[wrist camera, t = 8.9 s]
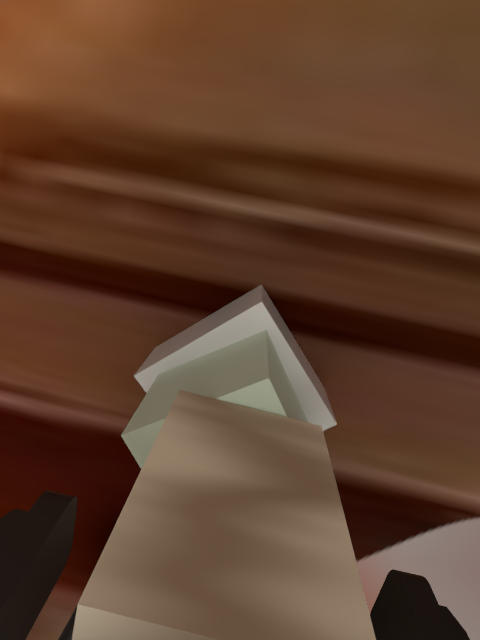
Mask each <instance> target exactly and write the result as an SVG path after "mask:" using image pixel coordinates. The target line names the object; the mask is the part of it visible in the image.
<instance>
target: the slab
mask: <svg viewBox="0 0 480 640" xmlns="http://www.w3.org/2000/svg"><path fill="white" fill-rule="evenodd" d="M265 330H267V332H268V334H269V336H270V338H271V341H272V343H273V345H274V347H275V349H276V352H277V354H278V356H279V358H280V360H281V363H282V365H283V367H284V369H285V371H286V374H287V376H288V378H289V380H290V382H291V385H292V387H293V389H294V391H295V393H296V396H297V398H298V400H299V402H300V404H301V407H302V409H303V411H304V413H305V415H306V418H307V420H308V422H309V423H312V424H316V425H320V426H322V429H323V431H324V430H326V429H328V428H330V427H333V426H335V425H337V422H336V419H335V417H334V414H333V411H332V408H331V405H330V402H329V400H328V397H327V394H326V391H325V388H324V387H323V385H322V383H321V382H320V380H319V378H318V377H317V375H316V373H315V372H314V370H313V368H312V367H311V365H310V363H309V362H308V360H307V359H306V357H305V355H304V354H303V352H302V350H301V349H300V347H299V345H298V344H297V342H296V340H295V339H294V337H293V335H292V334H291V332H290V331H289V329H288V327H287V326H286V324H285V322H284V321H283V319H282V317H281V316H280V314H279V312H278V311H277V309H276V308H275V306H274V304H273V303H272V301H271V299H270V298H269V296H268V294H267V293H266V291H265V289H264V288H263V286H262V284H261V285H260V286H258V287H256V288H255V289H253V290H251V291H250V292H248V293H246V294H245V295H243V296H241V297H240V298H238V299H236V300H234V301H233V302H231V303H229V304H228V305H226V306H224V307H223V308H221V309H219V310H218V311H216V312H214V313H212V314H211V315H209V316H207V317H206V318H204V319H202V320H201V321H199V322H197V323H196V324H194V325H192V326H191V327H189V328H187V329H185V330H184V331H182V332H180V333H179V334H177V335H175V336H174V337H172V338H170V339H169V340H167V341H165V342H163V343H162V344H160V345H158V346H157V347H155V348H154V350H153V351H152V352H151V354H150V355H149V356H148V358H147V359H146V360H145V362H144V363H143V364H142V366H141V367H140V368H139V370H138V371H137V372H136V374H135V375H134V377H135V378H136V380H137V381H138V382H139V384H140V385H141V386H142V388H143V389H144V390H145V392H146V393H147V392H148V390H149V389H150V387H151V386H152V384H153V382H154V381H155V379H156V377H157V376H158V374H160V373H163V372H165V371H167V370H170V369H172V368H175V367H177V366H180V365H182V364H184V363H187V362H189V361H192V360H194V359H197V358H199V357H201V356H204V355H206V354H209V353H211V352H214V351H216V350H218V349H221V348H223V347H226V346H228V345H231V344H233V343H235V342H238V341H240V340H243V339H245V338H248V337H250V336H252V335H255V334H257V333H260V332H262V331H265Z"/></svg>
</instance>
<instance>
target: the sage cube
mask: <svg viewBox="0 0 480 640" xmlns="http://www.w3.org/2000/svg"><path fill="white" fill-rule="evenodd" d="M179 390H183V391H187V392H191V393H195V394H199V395H203V396H206V397H210V398H214V399H218V400H222V401H226V402H230V403H234V404H238V405H242V406H246V407H249V408H253V409H257V410H261V411H265V412H269V413H273V414H277V415H281V416H285V417H289V418H293V419H296V420H300V421H304V422H308V420H307V418H306V415H305V413H304V411H303V409H302V407H301V404H300V402H299V400H298V398H297V396H296V393H295V391H294V389H293V387H292V385H291V382H290V380H289V378H288V376H287V374H286V371H285V369H284V367H283V365H282V363H281V360H280V358H279V356H278V354H277V352H276V349H275V347H274V345H273V343H272V341H271V338H270V336H269V334H268V332H267V330H265V331H262V332H260V333H257V334H255V335H252V336H250V337H248V338H245V339H243V340H240V341H238V342H235V343H233V344H231V345H228V346H226V347H223V348H221V349H218V350H216V351H214V352H211V353H209V354H206V355H204V356H201V357H199V358H197V359H194V360H192V361H189V362H187V363H184V364H182V365H180V366H177V367H175V368H172V369H170V370H167V371H165V372H163V373H160V374H158V376H157V377H156V379H155V381H154V382H153V384H152V386H151V387H150V389H149V390H148V392H147V394H146V395H145V397H144V399H143V400H142V402H141V404H140V405H139V407H138V408H137V410H136V412H135V413H134V415H133V417H132V418H131V420H130V422H129V423H128V425H127V426H126V428H125V430H124V431H123V433H122V435H121V436H122V438H123V440H124V441H125V443H126V445H127V446H128V448H129V450H130V451H131V453H132V455H133V456H134V458H135V460H136V461H137V463H138V464H139V466H140V468H141V469H142V467H143V465H144V463H145V461H146V459H147V457H148V455H149V452H150V450H151V448H152V446H153V444H154V442H155V440H156V438H157V436H158V433H159V431H160V429H161V427H162V425H163V423H164V421H165V419H166V417H167V414H168V412H169V410H170V408H171V406H172V404H173V402H174V400H175V398H176V395H177V393H178V391H179ZM308 423H309V422H308Z"/></svg>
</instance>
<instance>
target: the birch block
mask: <svg viewBox="0 0 480 640" xmlns="http://www.w3.org/2000/svg"><path fill="white" fill-rule="evenodd" d="M72 640H376V637H375V634H374V630H373V626H372V622H371V618H370V614H369V610H368V606H367V602H366V598H365V594H364V590H363V587H362V582H361V579H360V575H359V571H358V567H357V563H356V559H355V555H354V551H353V547H352V543H351V539H350V535H349V531H348V528H347V524H346V520H345V516H344V512H343V508H342V504H341V500H340V496H339V492H338V488H337V484H336V480H335V476H334V473H333V469H332V465H331V461H330V457H329V453H328V449H327V445H326V441H325V437H324V433H323V429H322V426H320V425H316V424H312V423H308V422H304V421H300V420H296V419H293V418H289V417H285V416H281V415H277V414H273V413H269V412H265V411H261V410H257V409H253V408H249V407H246V406H242V405H238V404H234V403H230V402H226V401H222V400H218V399H214V398H210V397H206V396H203V395H199V394H195V393H191V392H187V391H183V390H179V391H178V393H177V395H176V398H175V400H174V402H173V404H172V406H171V408H170V410H169V412H168V414H167V417H166V419H165V421H164V423H163V425H162V427H161V429H160V431H159V433H158V436H157V438H156V440H155V442H154V444H153V446H152V448H151V450H150V452H149V455H148V457H147V459H146V461H145V463H144V465H143V467H142V469H141V471H140V474H139V476H138V478H137V480H136V482H135V484H134V486H133V488H132V490H131V493H130V495H129V497H128V499H127V501H126V503H125V505H124V507H123V509H122V512H121V514H120V516H119V518H118V520H117V522H116V524H115V526H114V528H113V531H112V533H111V535H110V537H109V539H108V541H107V543H106V545H105V547H104V550H103V552H102V554H101V556H100V558H99V560H98V562H97V564H96V566H95V569H94V571H93V573H92V575H91V577H90V579H89V581H88V583H87V585H86V588H85V590H84V592H83V594H82V596H81V598H80V600H79V602H78V605H77V611H76V617H75V623H74V629H73V635H72Z"/></svg>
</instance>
